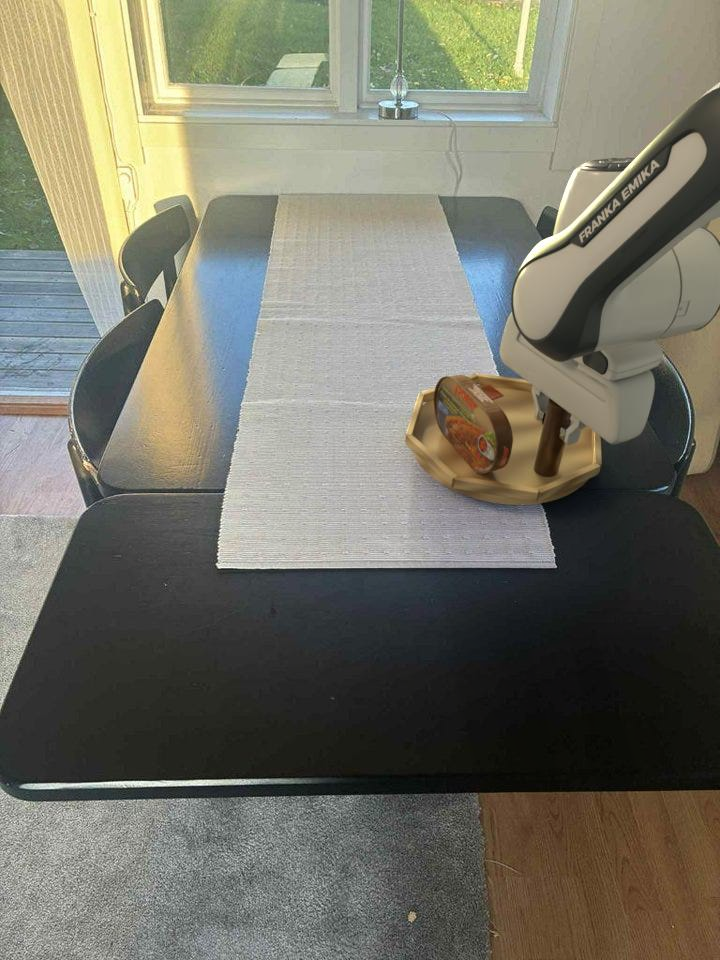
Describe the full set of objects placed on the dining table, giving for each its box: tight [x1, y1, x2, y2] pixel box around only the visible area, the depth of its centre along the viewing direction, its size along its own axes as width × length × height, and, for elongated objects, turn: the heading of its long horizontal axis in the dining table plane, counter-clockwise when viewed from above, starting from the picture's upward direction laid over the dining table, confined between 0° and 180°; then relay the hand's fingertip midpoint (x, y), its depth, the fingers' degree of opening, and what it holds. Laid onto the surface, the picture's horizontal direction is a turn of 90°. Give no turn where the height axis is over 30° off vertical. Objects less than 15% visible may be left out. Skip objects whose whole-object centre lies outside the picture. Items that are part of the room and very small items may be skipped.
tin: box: [434, 374, 513, 474], centre depth 85 cm, size 15×3×8 cm, turn 23°
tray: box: [404, 372, 603, 506], centre depth 88 cm, size 24×24×11 cm
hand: (555, 430), depth 82 cm, fingers closed on tray, 3 cm apart
